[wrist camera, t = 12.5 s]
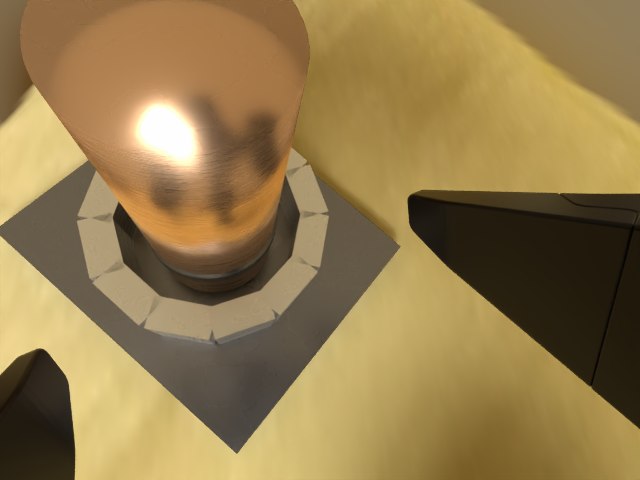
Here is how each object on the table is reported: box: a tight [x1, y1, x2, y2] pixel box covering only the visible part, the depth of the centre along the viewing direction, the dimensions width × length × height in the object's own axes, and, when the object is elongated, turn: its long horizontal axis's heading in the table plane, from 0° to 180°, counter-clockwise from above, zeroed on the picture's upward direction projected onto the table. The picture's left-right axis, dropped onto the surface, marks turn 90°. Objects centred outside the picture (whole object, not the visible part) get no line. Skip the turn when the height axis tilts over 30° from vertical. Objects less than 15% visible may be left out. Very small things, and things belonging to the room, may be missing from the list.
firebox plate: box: [0, 147, 401, 453], centre depth 17 cm, size 14×12×4 cm
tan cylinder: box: [20, 0, 309, 292], centre depth 13 cm, size 5×5×12 cm
